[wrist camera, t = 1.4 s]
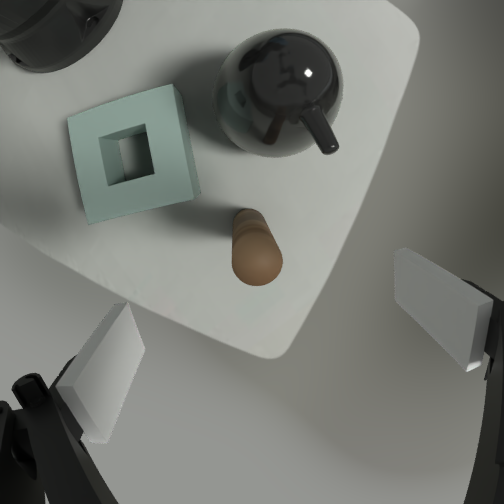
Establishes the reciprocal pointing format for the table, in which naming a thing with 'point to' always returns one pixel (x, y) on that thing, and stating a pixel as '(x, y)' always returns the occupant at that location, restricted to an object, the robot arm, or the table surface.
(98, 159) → the socket block
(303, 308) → the table surface
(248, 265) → the peg
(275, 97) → the pump dispenser
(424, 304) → the robot arm
